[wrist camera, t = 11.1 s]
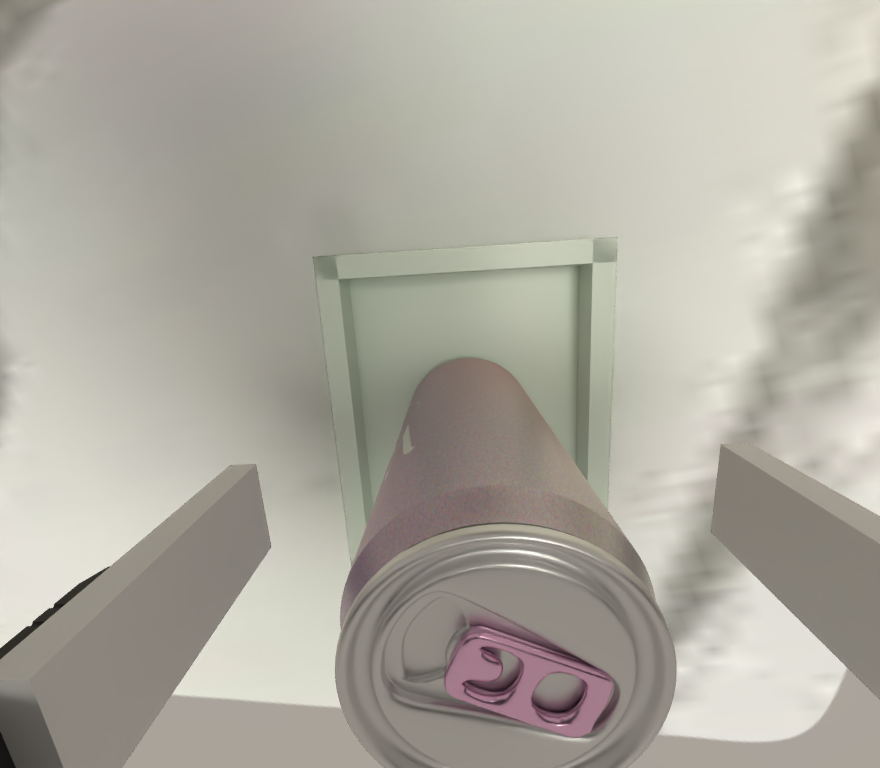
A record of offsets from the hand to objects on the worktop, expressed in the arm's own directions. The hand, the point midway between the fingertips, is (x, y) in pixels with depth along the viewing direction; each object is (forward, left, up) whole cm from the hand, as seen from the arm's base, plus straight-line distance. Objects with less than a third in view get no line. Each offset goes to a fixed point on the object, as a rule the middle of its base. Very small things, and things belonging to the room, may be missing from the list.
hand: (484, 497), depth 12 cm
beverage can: (0, 0, -10) cm, 10 cm away
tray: (0, 0, -10) cm, 10 cm away
